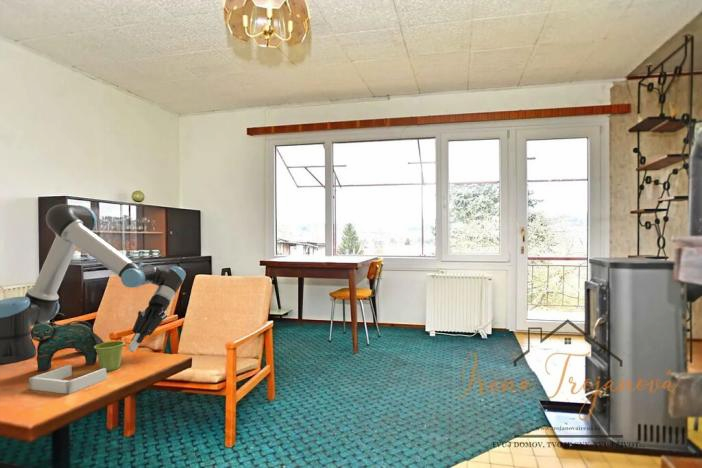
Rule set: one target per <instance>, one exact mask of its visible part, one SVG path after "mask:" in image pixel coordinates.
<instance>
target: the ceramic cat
mask: <svg viewBox="0 0 702 468" xmlns="http://www.w3.org/2000/svg"><path fill="white" fill-rule="evenodd" d="M55 315H56V314H55ZM55 315H54V316H55ZM57 315H62V316H63V317H65V316H66V315H65V314H64V313H61V312H58V313H57ZM57 315H56V316H57ZM54 316H53V318H52V321H51V322H50V321H47V322H42V323H40V322H39V321H36V322H35V324H34V326H32V328H31V329H30V335H31V338H32V341H37V342H38V345H37V348H36V363H37V373H38V372H48V371H49V370H51V368H52V360H53V357H54V355H55V354H56V353H58V351H62V350H67V349H74V350H75V349H79V350H81V351H82V352H81V353H82V354H83V356H84V359H85V365H86V366H93V365H96V363H97V360H98V355H97V352H96V349H95V348H94V346H96V345H98V344H97V339H96V336H95V334H96V333H95V332H94V328H93V326H92V324H91V323H90V322H88V321H84V320H74V321H73V320H72V321H70V322H67V323H63V324H57V323H56V322H55V320H54V318H55V317H56V316H55V317H54ZM82 323H83V324H82ZM86 324H87V325H88V326H87V325H86ZM94 333H95V334H94Z"/></svg>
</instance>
